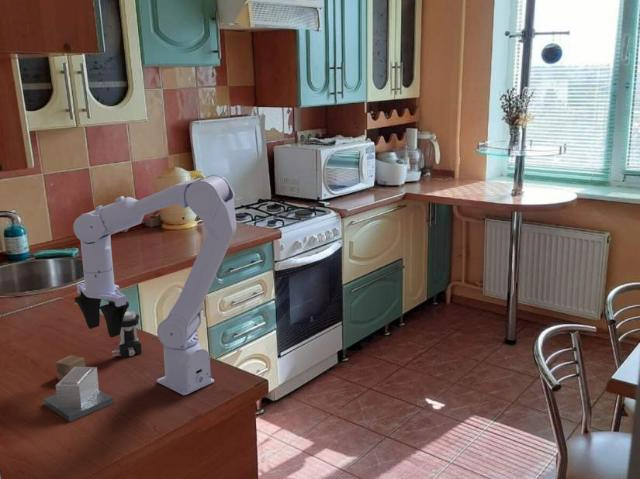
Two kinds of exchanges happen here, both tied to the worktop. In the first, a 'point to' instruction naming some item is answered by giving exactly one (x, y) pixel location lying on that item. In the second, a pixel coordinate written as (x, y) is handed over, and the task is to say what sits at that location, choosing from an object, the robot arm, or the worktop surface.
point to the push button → (129, 336)
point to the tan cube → (68, 365)
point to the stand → (70, 414)
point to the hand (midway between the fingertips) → (104, 331)
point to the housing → (77, 387)
